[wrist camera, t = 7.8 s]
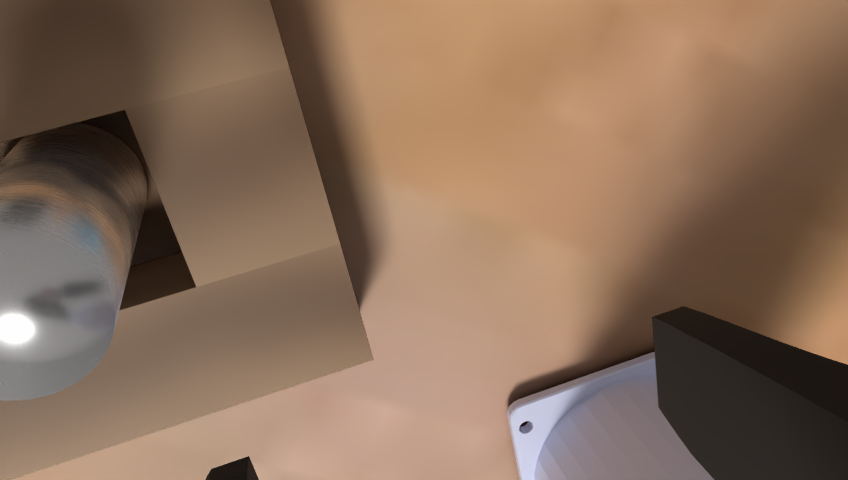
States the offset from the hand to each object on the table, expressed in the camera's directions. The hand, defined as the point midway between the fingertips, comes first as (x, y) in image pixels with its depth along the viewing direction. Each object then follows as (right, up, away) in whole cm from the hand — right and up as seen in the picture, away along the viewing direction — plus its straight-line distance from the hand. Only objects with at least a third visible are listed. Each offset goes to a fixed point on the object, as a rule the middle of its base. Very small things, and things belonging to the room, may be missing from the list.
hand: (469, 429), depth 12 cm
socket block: (-10, +4, +6) cm, 12 cm away
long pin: (-10, +5, +6) cm, 13 cm away
